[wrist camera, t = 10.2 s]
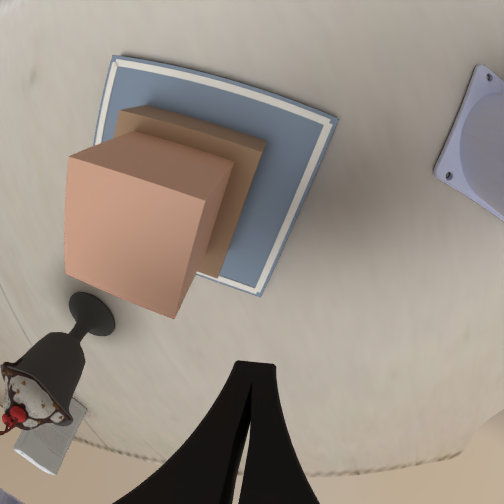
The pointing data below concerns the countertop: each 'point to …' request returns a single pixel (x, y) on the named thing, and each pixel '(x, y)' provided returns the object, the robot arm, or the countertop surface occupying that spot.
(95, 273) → the terracotta block
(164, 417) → the countertop surface
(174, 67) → the blueprint board
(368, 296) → the countertop surface
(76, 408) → the skincare box
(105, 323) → the sundae
